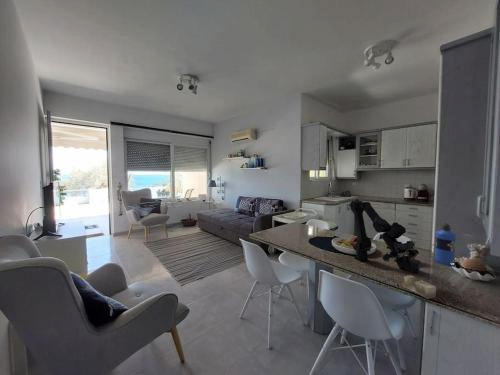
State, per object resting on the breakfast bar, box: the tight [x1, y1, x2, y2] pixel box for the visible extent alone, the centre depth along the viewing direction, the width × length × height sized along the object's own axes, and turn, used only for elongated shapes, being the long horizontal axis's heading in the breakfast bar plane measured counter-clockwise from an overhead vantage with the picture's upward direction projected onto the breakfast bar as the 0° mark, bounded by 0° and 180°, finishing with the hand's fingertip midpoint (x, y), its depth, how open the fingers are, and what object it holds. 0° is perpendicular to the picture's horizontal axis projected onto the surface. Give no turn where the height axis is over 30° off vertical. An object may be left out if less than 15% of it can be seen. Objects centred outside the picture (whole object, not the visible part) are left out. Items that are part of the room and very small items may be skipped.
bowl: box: [331, 235, 377, 256], centre depth 156 cm, size 30×30×8 cm
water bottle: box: [434, 222, 457, 266], centre depth 130 cm, size 9×9×25 cm
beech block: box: [401, 274, 437, 300], centre depth 99 cm, size 5×5×12 cm
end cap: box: [396, 258, 422, 274], centre depth 121 cm, size 10×7×7 cm
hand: (411, 271), depth 101 cm, fingers closed
